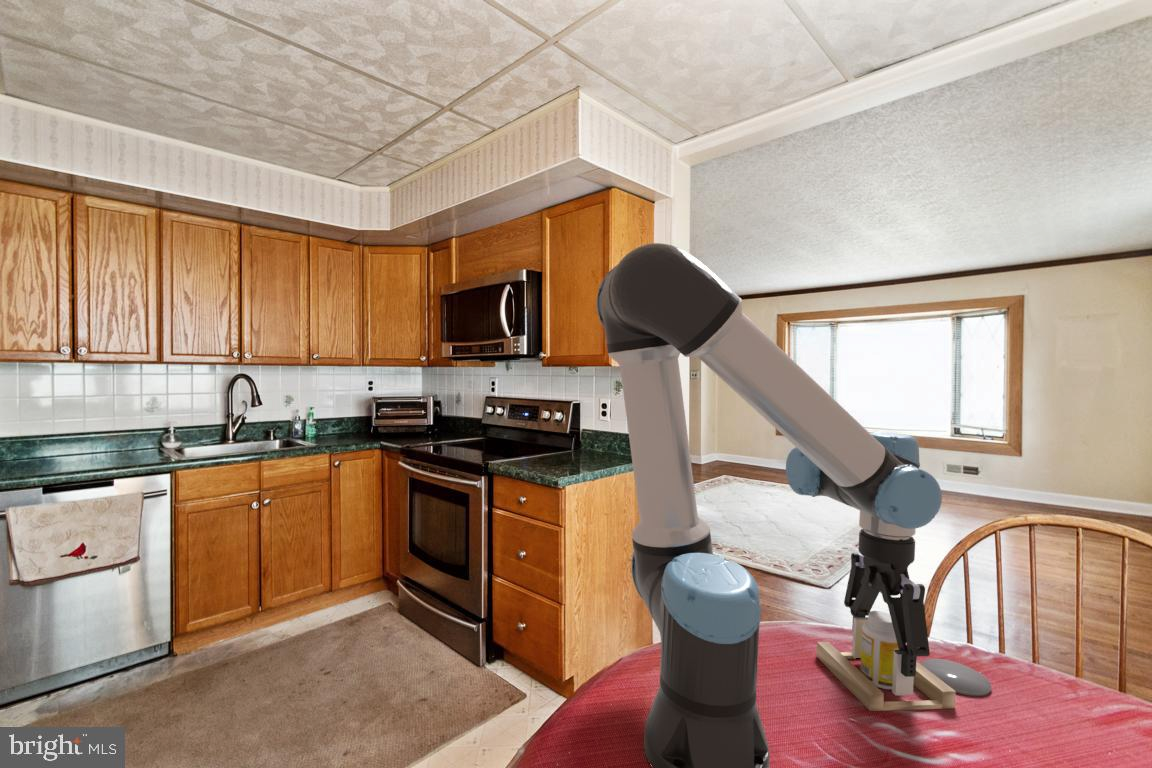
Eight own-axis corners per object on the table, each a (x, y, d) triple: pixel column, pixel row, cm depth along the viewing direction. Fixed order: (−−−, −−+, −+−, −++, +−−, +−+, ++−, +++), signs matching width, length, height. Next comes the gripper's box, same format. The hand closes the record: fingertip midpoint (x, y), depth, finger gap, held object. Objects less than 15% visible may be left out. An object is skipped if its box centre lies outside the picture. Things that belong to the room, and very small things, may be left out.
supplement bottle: (906, 682, 81) (909, 618, 81) (893, 696, 78) (896, 628, 77) (868, 666, 86) (871, 604, 85) (854, 678, 82) (856, 614, 82)
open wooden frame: (869, 711, 74) (870, 693, 74) (816, 656, 88) (817, 641, 88) (954, 708, 75) (955, 691, 75) (889, 654, 89) (889, 640, 89)
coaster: (950, 696, 78) (951, 693, 78) (907, 662, 87) (907, 659, 87) (1006, 695, 79) (1006, 691, 79) (958, 661, 88) (958, 658, 88)
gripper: (967, 558, 70) (959, 720, 71) (865, 512, 92) (859, 637, 93) (915, 558, 70) (907, 722, 70) (824, 512, 91) (819, 638, 92)
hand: (880, 674), depth 82 cm, fingers open, 9 cm apart
